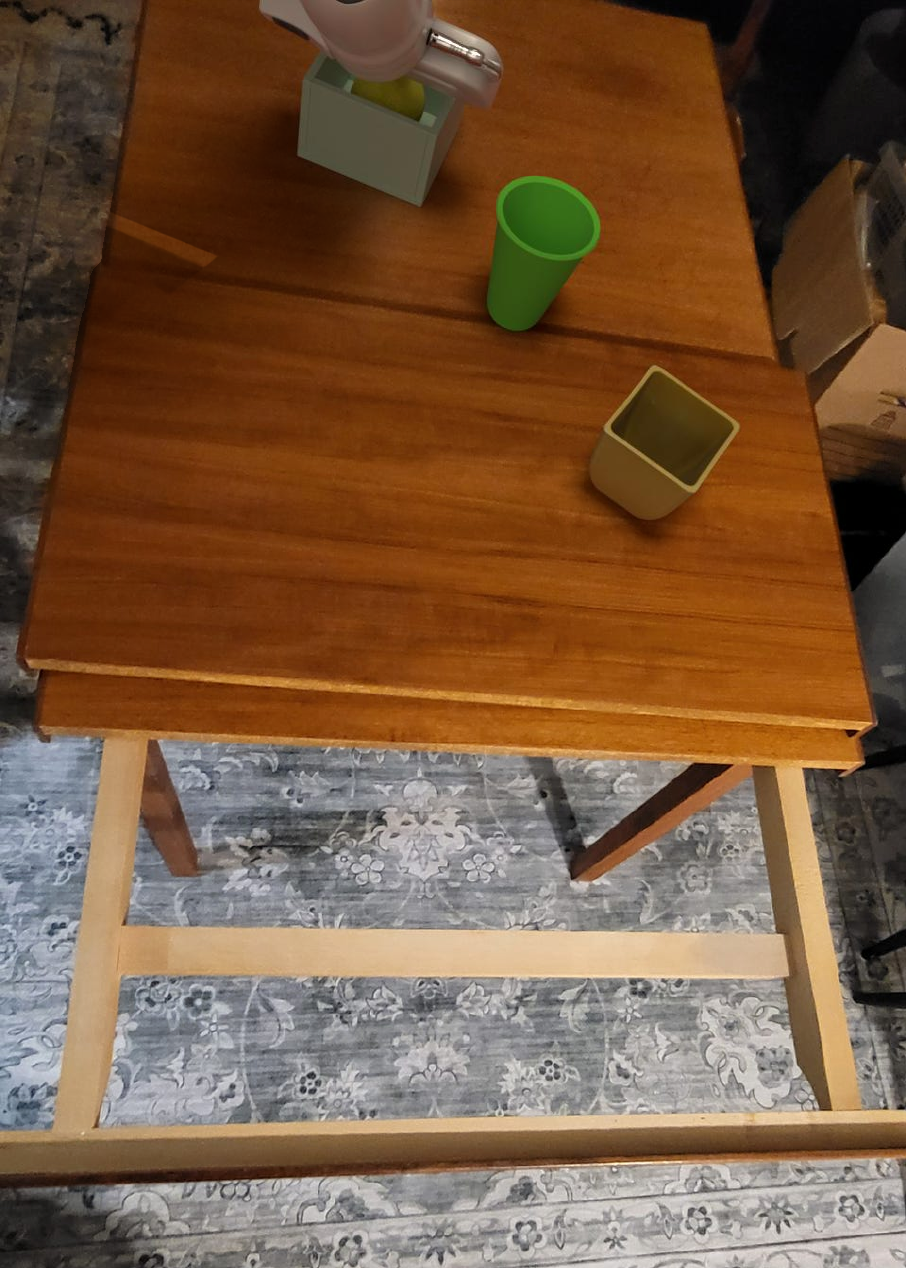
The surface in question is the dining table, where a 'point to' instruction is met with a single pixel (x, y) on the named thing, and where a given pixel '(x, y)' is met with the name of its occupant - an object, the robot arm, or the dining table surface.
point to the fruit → (393, 95)
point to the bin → (373, 133)
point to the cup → (537, 247)
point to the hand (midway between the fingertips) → (395, 60)
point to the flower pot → (659, 446)
